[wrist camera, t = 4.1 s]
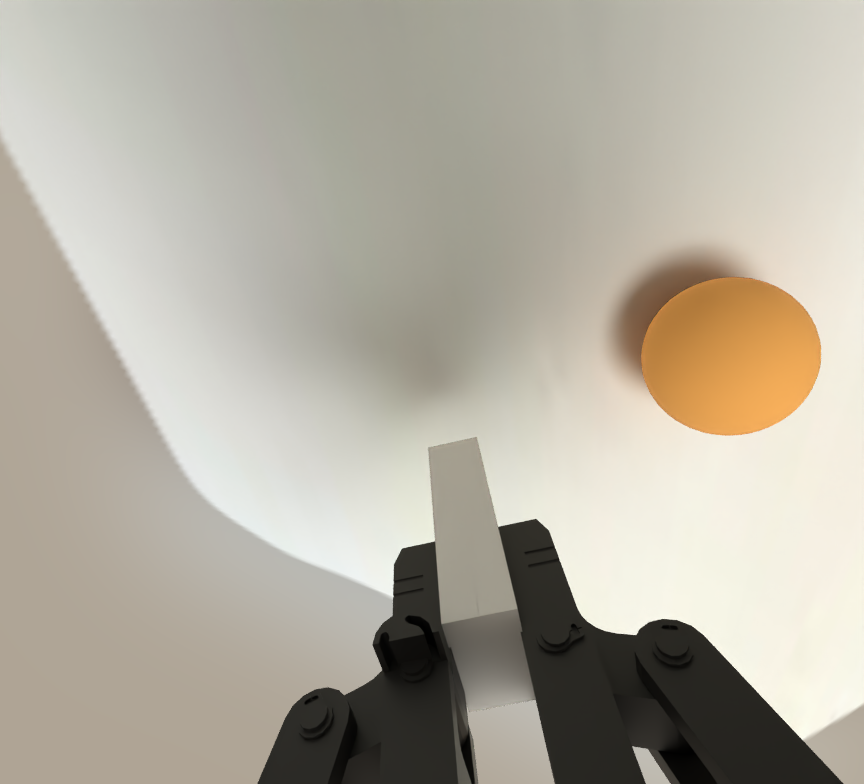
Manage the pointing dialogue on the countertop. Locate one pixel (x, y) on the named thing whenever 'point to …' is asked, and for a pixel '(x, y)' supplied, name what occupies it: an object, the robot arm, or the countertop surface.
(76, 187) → the countertop surface
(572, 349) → the countertop surface
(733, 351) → the ball
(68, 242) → the countertop surface
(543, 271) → the countertop surface
